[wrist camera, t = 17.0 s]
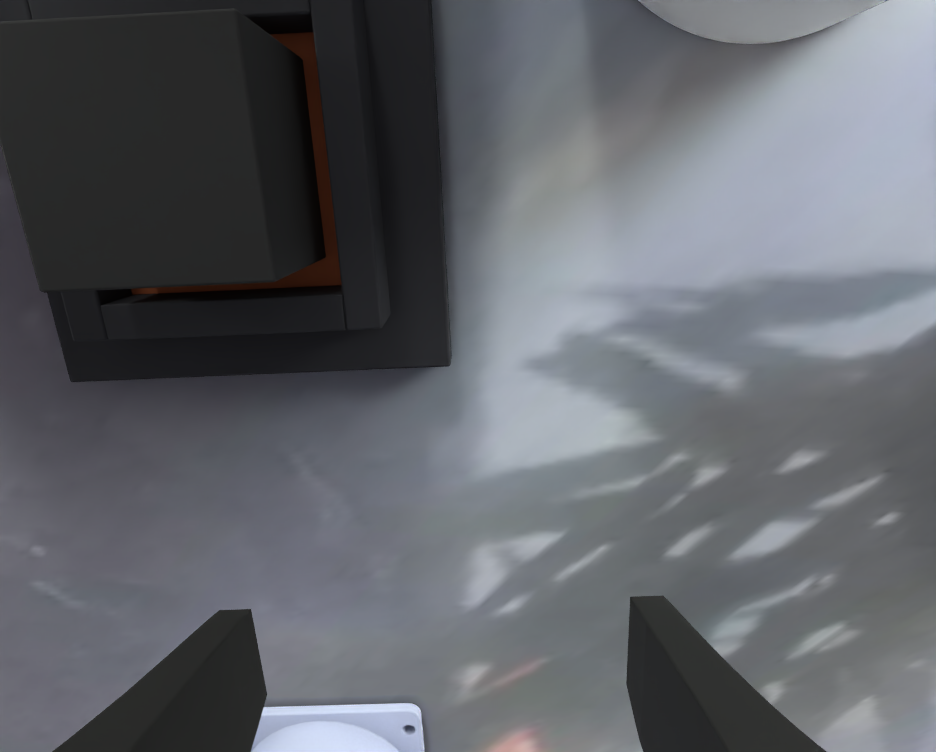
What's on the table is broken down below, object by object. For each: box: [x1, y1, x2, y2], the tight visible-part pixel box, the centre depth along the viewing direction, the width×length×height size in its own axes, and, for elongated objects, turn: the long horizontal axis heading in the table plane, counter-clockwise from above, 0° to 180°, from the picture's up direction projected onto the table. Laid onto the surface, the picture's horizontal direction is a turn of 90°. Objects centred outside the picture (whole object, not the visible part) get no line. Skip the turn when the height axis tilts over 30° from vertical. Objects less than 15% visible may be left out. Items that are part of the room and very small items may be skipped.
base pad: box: [0, 0, 451, 382], centre depth 16 cm, size 12×12×3 cm
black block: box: [0, 8, 326, 293], centre depth 14 cm, size 5×5×5 cm
